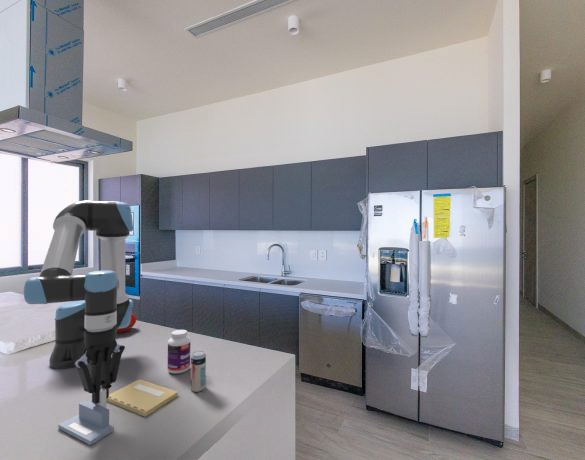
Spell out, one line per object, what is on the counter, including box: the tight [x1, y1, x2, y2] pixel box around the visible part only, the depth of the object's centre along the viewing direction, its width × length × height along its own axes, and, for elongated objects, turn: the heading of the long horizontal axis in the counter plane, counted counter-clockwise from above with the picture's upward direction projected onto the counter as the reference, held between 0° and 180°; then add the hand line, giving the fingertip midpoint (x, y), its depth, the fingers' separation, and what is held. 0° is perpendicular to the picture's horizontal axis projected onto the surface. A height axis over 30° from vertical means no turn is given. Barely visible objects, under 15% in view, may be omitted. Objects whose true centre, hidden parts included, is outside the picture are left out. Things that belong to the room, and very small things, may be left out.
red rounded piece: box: [117, 312, 137, 333], centre depth 154 cm, size 14×16×10 cm
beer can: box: [190, 350, 207, 393], centre depth 100 cm, size 5×5×12 cm
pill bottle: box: [167, 329, 191, 375], centre depth 113 cm, size 8×8×14 cm
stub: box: [57, 399, 115, 446], centre depth 79 cm, size 14×6×5 cm, turn 65°
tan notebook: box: [106, 379, 179, 418], centre depth 94 cm, size 18×12×1 cm, turn 65°
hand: (100, 412), depth 83 cm, fingers closed
